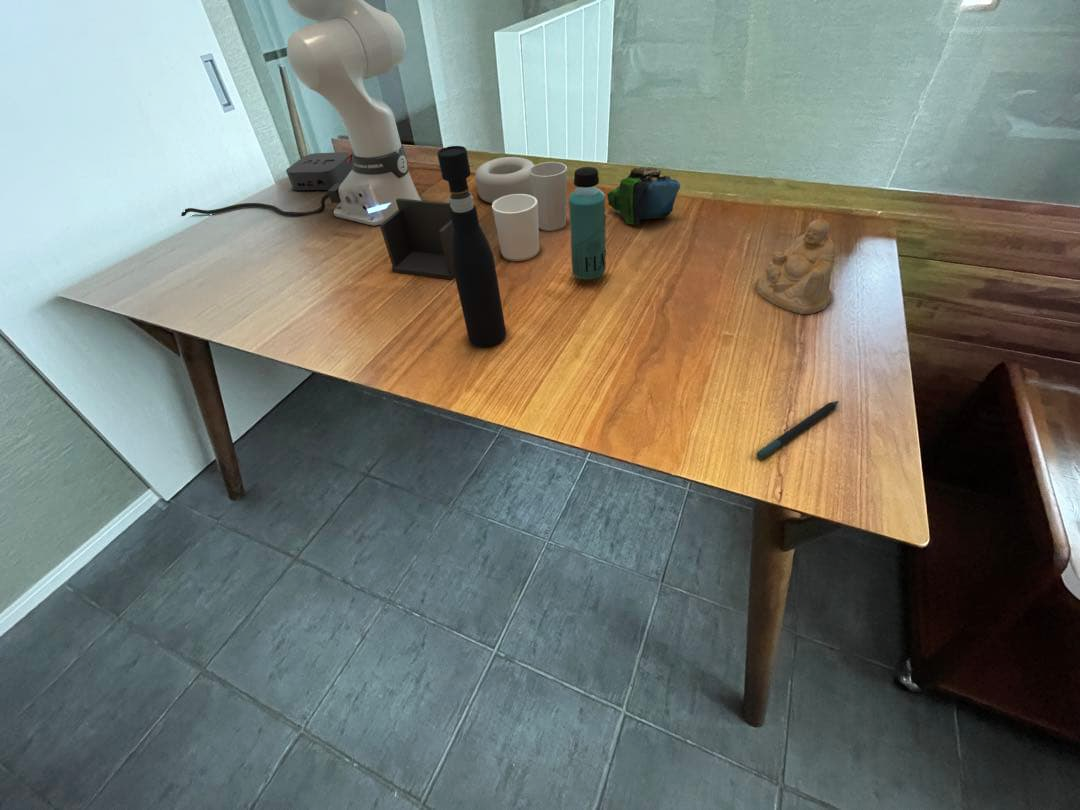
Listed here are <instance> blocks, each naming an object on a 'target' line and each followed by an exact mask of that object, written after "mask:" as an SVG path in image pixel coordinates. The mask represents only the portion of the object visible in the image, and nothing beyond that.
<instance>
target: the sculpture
mask: <svg viewBox="0 0 1080 810" xmlns="http://www.w3.org/2000/svg"><path fill="white" fill-rule="evenodd" d="M661 174H662V169H660V168H656V167H654V166H653V167H651V166H648V167H646V166H642V167H641V166H640V167H637V168H636V167H633V168H631V170H630V173H629V175H628V176H627V177H624V178H622V179H621V180H620V182H619V186H617V187H615V189H613V190H610V191H609V192H607V195H606V196H607V201H608V203H607V204H608V206H610V207H611V208H612V209H613V210H614V211H615V212H617V213H618V214H621V217H622V218H623V219H624V221H625V225H635V226H636V225H640V220H650V219H658V218H667V217H668V216H669V215H670V214H671V213H672V212H673V210H674V204H675V202H676V198H677V196H678V193H679V191H680V189H681V183H680V182H679V181H678V180H677V179H672V176H670V175H669V174H664V175H662V176H660V175H661Z"/></svg>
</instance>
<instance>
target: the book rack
mask: <svg viewBox="0 0 1080 810" xmlns="http://www.w3.org/2000/svg"><path fill="white" fill-rule="evenodd" d="M396 202H397V206H398V211H396V212H395V213H394V214H393V215H391V216H390V217H389V218H388V219H386V220H385V221H384V222H383V223H381V224H379V228H380V230H381V234H382V236H383V240H384V243H385V246H386V250H387V253H388V257H389V260H390V262H391V263H390V264H391V266H392V267H391V271H392V273H399V274H406V275H413V276H421V277H427V278H435V279H443V280H448V281H452V280H454V279H455V275H454V270H453V266H452V258H451V244H452V236H453V224H452V219H451V214H450V209H451V207H450V204H451V203H450V202H444V201H433V200H423V199H421V200H411V199H399V198H398V199H396Z"/></svg>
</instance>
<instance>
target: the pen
mask: <svg viewBox="0 0 1080 810" xmlns="http://www.w3.org/2000/svg"><path fill="white" fill-rule="evenodd" d="M838 404H839V400H835V401H831V402H828V403H827V404H825V405H824V406H822V407H820V408H819V409H818V410H816V411H815V412H813V413H811V414H810V415H809V416H807V417H806V418H805V419H803V420H802V421H800V422H799V423H797V424H796V425H794V426H793V427H792V428H790V429H788V430H787V431H786V432H785V433H783V434H781V435H780V436H778V437H777V438H775V439H774V440H773V441H771V442H769V443H768V444H766V445H765V446H764V447H762V448H761V449H760V450H758V452H757V453H756V457H757V458H758V459H760V460H761V459H765V458H766V457H767V456H769V455H771V453H773V452H774V451H777V450H778V449H779V448H780V447H782V446H783V445H784V444H787V442H789V441H790V440H791V439H792V440H793V438H795V437H796V436H797V435H799V434H800V433H802V432H803V431H805V430H806V429H807V428H809V427H811V426H812V425H814V424H815V423H817V421H819V420H821V419H822V418H824V417H825V416H827V414H829V413H830V412H832V411H833V410H834V409H835V408H836V407H837V405H838Z"/></svg>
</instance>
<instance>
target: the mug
mask: <svg viewBox="0 0 1080 810" xmlns="http://www.w3.org/2000/svg"><path fill="white" fill-rule="evenodd" d="M491 209H492V215H493V219H494V223H495V228H496V235H497V238H498V243H499V248H500V254H501V256H502V257H503V258H504V259H505V260H508V261H511V262H522V261H523V262H524V261H527V260H531V259H533V258H535V257H536V256H537V255H538V254H539V252H540V228H539V227H538V204H537V199H536V198H535V197H533V195H532V196H531V195H527V194H512V195H507V196H503V197H501V198H499V199H497V200H495V201H494V202H493V203H491Z"/></svg>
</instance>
